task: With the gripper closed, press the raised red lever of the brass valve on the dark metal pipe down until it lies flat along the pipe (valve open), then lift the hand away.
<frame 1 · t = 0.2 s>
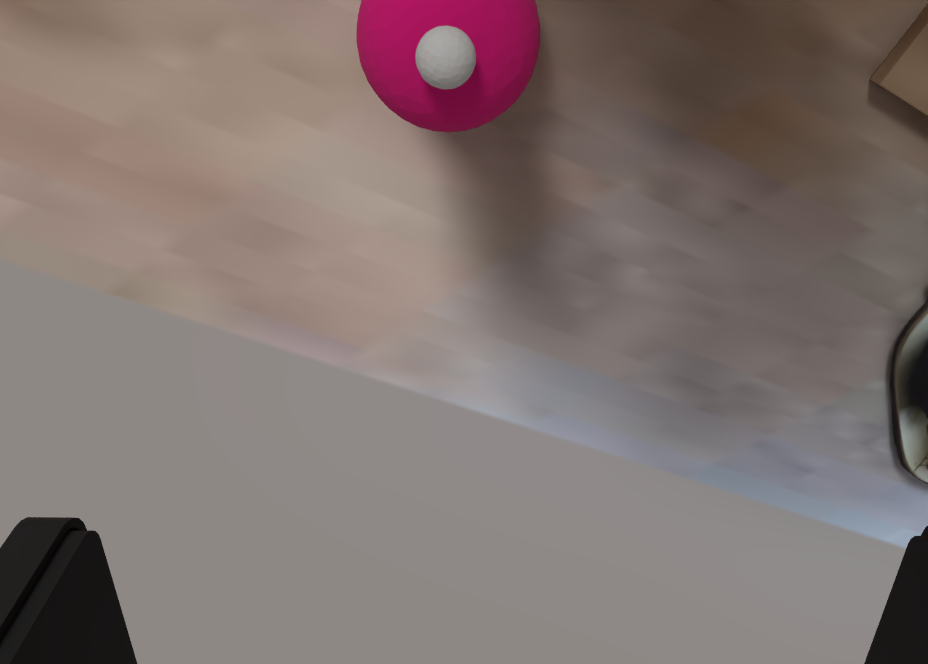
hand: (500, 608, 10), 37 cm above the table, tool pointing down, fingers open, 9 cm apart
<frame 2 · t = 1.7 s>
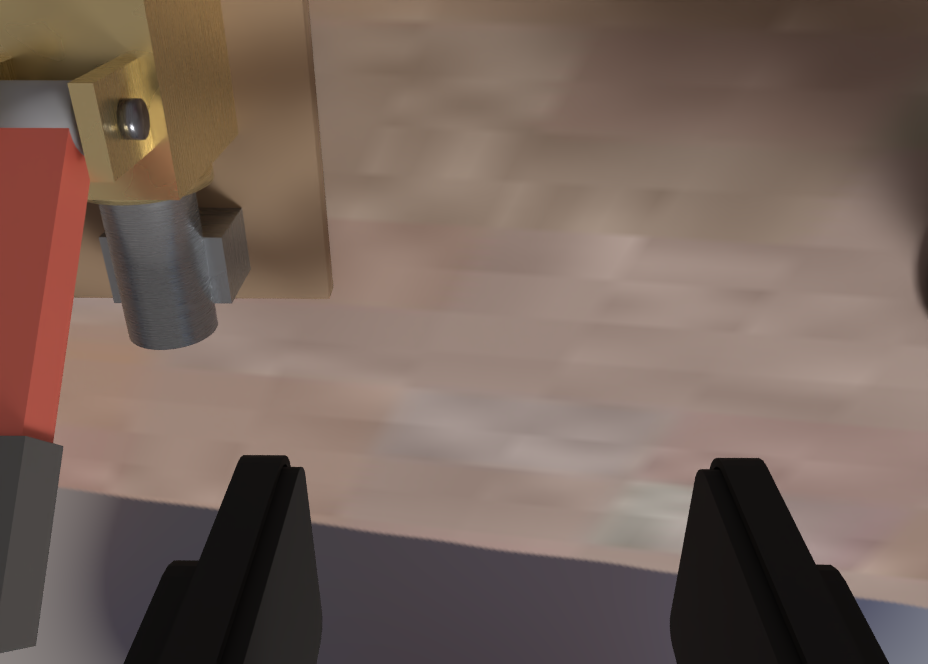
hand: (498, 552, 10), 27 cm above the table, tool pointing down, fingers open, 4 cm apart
mount board: (168, 49, 34), on the table
valve: (168, 49, 34), resting on mount board
lever: (12, 341, 22), point 16 cm above the table, hinge at 45.0°
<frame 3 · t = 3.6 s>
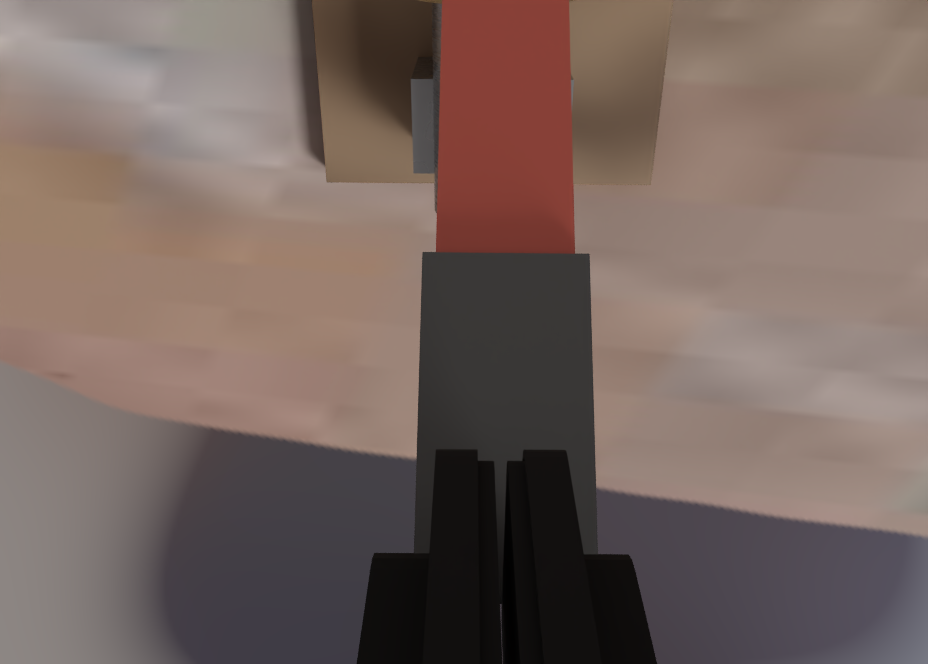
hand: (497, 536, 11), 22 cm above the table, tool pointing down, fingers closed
lever: (503, 126, 14), point 16 cm above the table, hinge at 44.4°, touching gripper
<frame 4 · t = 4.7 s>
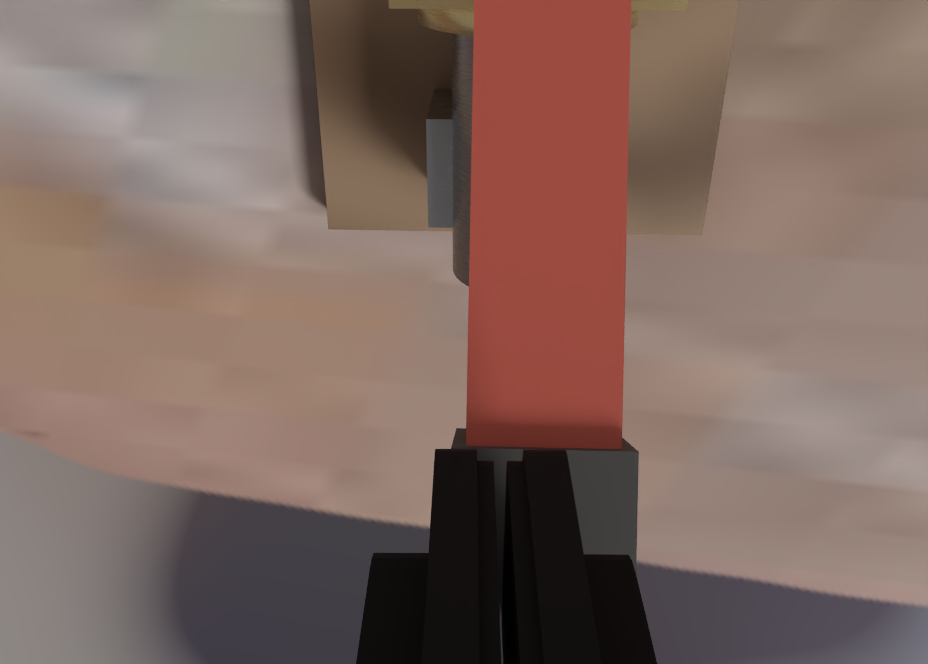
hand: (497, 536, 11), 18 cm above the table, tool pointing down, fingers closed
lever: (543, 257, 12), point 14 cm above the table, hinge at 28.5°, touching gripper
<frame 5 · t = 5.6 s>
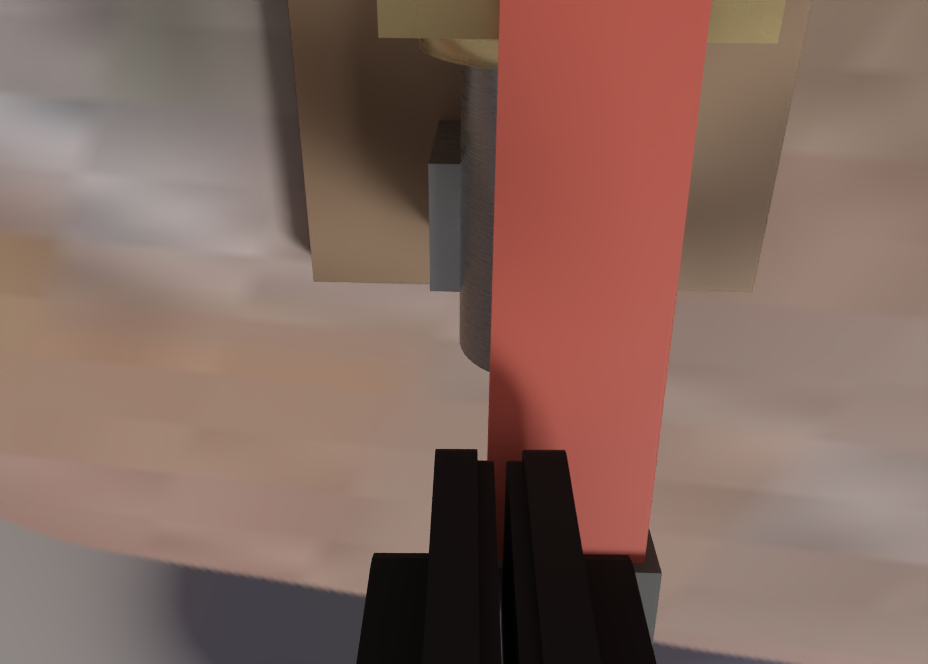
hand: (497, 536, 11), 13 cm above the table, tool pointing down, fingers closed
lever: (572, 355, 11), point 12 cm above the table, hinge at 6.8°, touching gripper
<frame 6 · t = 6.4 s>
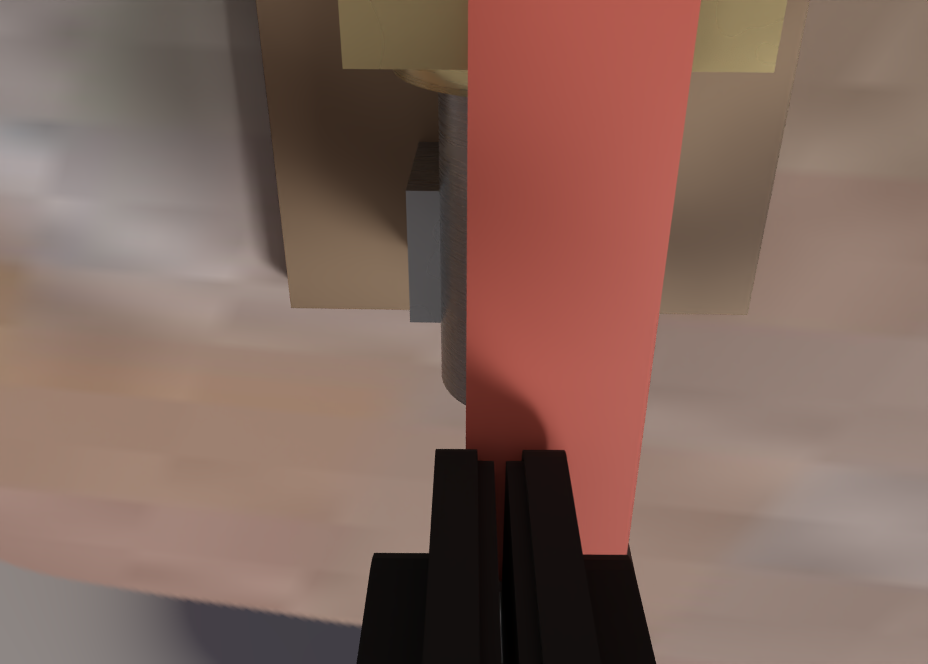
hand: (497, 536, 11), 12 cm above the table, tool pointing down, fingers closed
lever: (550, 385, 11), point 11 cm above the table, hinge at 0.7°, touching gripper
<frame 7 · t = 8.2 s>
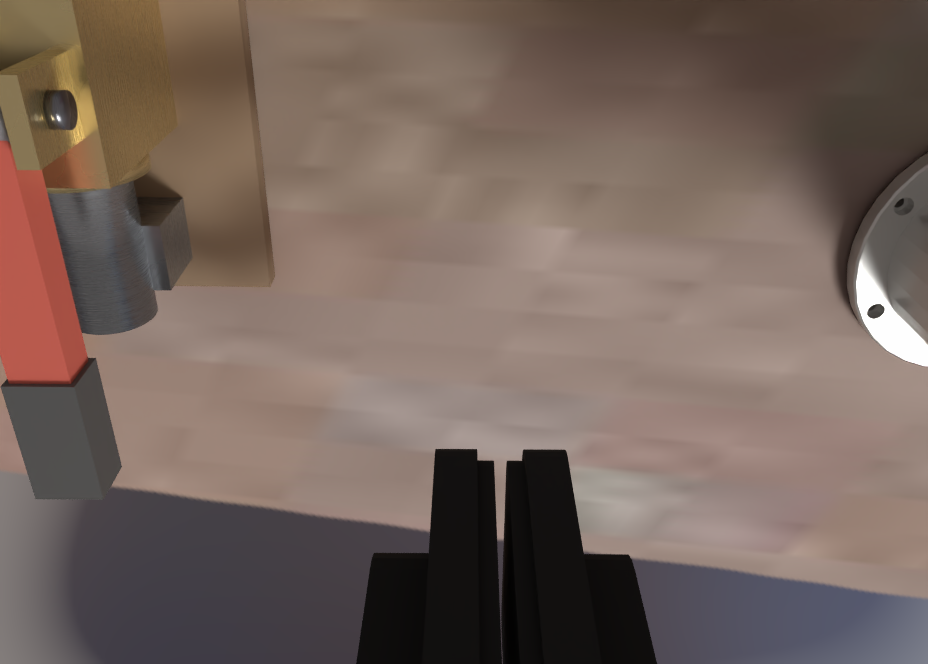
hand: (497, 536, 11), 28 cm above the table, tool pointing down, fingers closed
mount board: (108, 42, 35), on the table
valve: (108, 42, 35), resting on mount board
lever: (31, 305, 28), point 11 cm above the table, hinge at 0.5°
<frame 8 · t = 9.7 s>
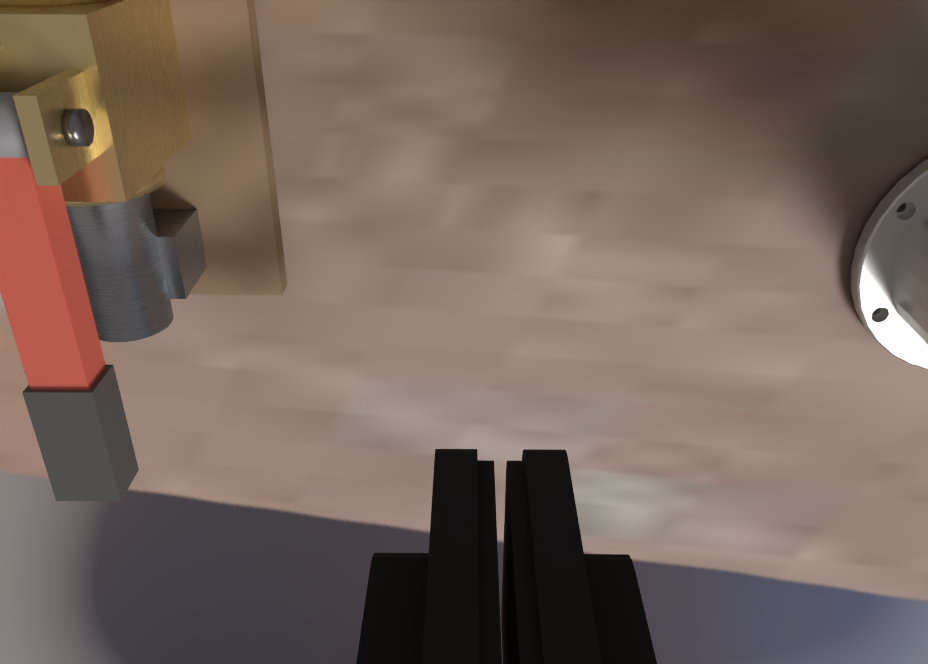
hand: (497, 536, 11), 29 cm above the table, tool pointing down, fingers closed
mount board: (125, 59, 36), on the table
valve: (125, 59, 36), resting on mount board
lever: (51, 314, 30), point 11 cm above the table, hinge at 0.5°
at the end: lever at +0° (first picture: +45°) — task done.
